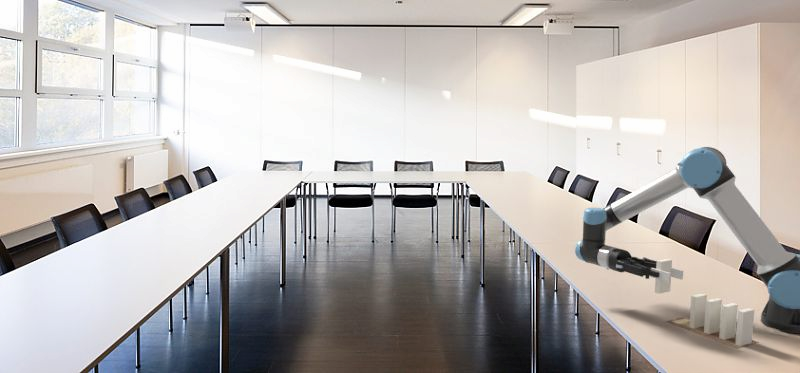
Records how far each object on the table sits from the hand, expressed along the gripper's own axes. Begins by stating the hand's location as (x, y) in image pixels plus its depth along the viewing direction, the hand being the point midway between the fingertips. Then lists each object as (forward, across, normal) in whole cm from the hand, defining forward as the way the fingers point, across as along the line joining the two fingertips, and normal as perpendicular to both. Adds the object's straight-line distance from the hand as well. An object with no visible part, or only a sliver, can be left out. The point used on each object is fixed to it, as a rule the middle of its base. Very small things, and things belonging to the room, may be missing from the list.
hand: (675, 276), depth 176 cm
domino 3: (+6, -10, -17) cm, 21 cm away
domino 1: (-4, 0, -6) cm, 7 cm away
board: (+6, -10, -18) cm, 21 cm away
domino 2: (+1, -10, -17) cm, 20 cm away
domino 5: (+16, -10, -17) cm, 25 cm away
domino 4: (+11, -10, -17) cm, 23 cm away
